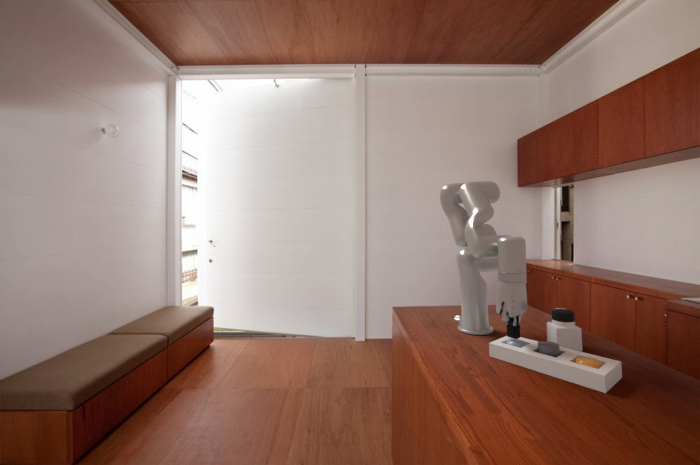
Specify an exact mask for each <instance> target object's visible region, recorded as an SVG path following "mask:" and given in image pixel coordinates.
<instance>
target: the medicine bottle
mask: <svg viewBox="0 0 700 465" xmlns="http://www.w3.org/2000/svg"><path fill="white" fill-rule="evenodd" d="M575 315H576V314H575V312H574V311H573V310H571V309H570V308H569V309H567V308H560V307H559V308H558V307H557V308H554V309H552V310H551V321H547V322H546V337H547V338H546V339H547V340H546V341H550V342H554V343H557V344H559V347H563V348H568V349H572V350H576V351H580V352H583V333H582V332H583V331H582V327H579V326H577V325H576V319H575V317H576V316H575Z"/></svg>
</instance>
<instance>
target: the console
mask: <svg viewBox="0 0 700 465" xmlns="http://www.w3.org/2000/svg"><path fill="white" fill-rule="evenodd" d="M507 339H514V338H510V337H508V336H507V335H505V336H503V337H500V338H498V339H495V340H493V341H490V342H488V351H489V352H488V353H489V357H490V358H493V359H494V358H495V359H497V360H500V361H503V362H505V363H506V362H507V363H509V364H513V365H517V366H519V367H522V368H525V369H529V370H532V371H534V372H538V373H541V374H544V375H547V376H549V377H552V378H553V377H554V378H557V379H559V380H562V381H566V382H569V383H573V384H576V385H579V386H581V387H585V388H587V389H591V390H594V391H598V392H601V393H604V394H607V393H608V392H609V391H610V390H611V389H612V388H613V387H614V386H615V385H616V384H618V382H619V381H620V380H621V379H623V371H622V366H623V365H622V361H620V360H616V359H612V358H608V357H603V356H601V355H597V354H592V353H587V352H583V351H582V352H580V351H576V350H572V349H568V348H563V347H559V349H560V356H558V357H552V356H549V355H545V354H541V353H538V342H540V341H538V340H534V339H530V338H526V337H522V336H520V338H518V339H519V340H523V341H524V342H525V346H524V347H522V348H519V347H516V346H512V345H508V344H507V343H506V340H507ZM578 356H586V357H591V358H595V359H597V360H599V361H600V362H601V367H600V368H599V369H597V368H593V367H589V366H586V365H582V364H578V363H576V357H578Z"/></svg>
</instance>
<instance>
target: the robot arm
mask: <svg viewBox="0 0 700 465" xmlns="http://www.w3.org/2000/svg"><path fill="white" fill-rule="evenodd" d="M500 195H501V190H500V186H499V185H498V184H497V183H496V182H494V181H490V180H489V181H487V180H485V181H468V182H458V183H457V182H456V183H455V182H454V183H449V184H448V183H447V184H446V185H444V186H442V188H441V189H440V192H439V201H440V206H441V208H442V210H443V213H444V214H445V215H446V218H447V219H448V222H449V225H450V229H451V232H452V236H453V239H454V242H455V244H456V246H457V247H459V248H462V249H460V250H459V251H458V252H457V254H456V265H457V268H458V273H459V274H458V275H459V283H460V284H459V285H460V286H459V287H460V304H461V315H458V314H456V315H455V316H454V320H453V321H455V322H458V323H459V324H458V325H457V329H458V331H459V332H462V333H464V334H468V335H473V336H484V335H491V334H492V333H493V332H494V327H493V326H492V325H489V308H488V307H489V306H488V305H489V302H488V299H489V298H488V285H487V282H486V280H485V278H484V277H483V276H482V275H481V273H493V272H497V273H498V283H497V289H496V300H495V301H496V302H495V303H496V304H495V306H496V307H495V311H496V314H497V315H499V316H500V315H502V316H501V321H502V322H505V324H506V336H508V337H510V338H514V339H518V338H520V337H521V324H522V317H523V316H524V315H525V313H526V312H527V310H528V295H527V285H526V284H527V252H526V250H527V246H526V244H527V242H526V239H525V238H523V237H521V236H512V235H508V234H499V235H498V234H497V232H496V230H495V228H494V227H493V226H492V225H490V224H488V223H487V222H489V221H490V220H491V219H492V218H493V217H494V214H495V210H494V207H493V205H492V204H495V203H497V202H498V200H499V199H500V197H501V196H500ZM460 204H462V205H463V206H464V207H463V206H462V205H460Z"/></svg>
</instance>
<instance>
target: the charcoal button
mask: <svg viewBox="0 0 700 465" xmlns="http://www.w3.org/2000/svg"><path fill="white" fill-rule="evenodd" d="M538 353H541V354H545V355H549V356H552V357H558V356H560V349H559V344H557V343H554V342H550V341H547V340H541V341H539V342H538Z"/></svg>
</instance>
